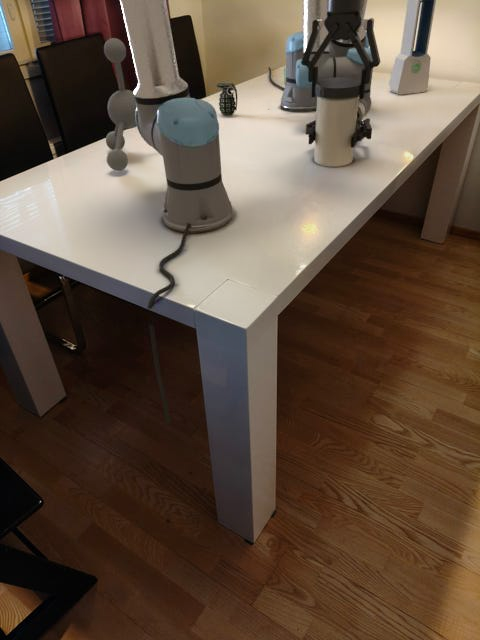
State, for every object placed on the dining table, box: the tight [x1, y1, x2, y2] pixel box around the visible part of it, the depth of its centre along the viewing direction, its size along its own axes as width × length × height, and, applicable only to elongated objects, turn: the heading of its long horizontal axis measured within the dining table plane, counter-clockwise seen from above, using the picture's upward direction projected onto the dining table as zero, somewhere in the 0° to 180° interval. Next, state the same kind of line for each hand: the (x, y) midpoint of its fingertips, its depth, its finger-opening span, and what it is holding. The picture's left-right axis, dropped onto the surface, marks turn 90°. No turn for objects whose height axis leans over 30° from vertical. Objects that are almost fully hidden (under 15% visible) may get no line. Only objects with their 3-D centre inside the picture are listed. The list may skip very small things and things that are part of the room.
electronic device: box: [388, 0, 437, 96], centre depth 174 cm, size 12×8×30 cm, turn 105°
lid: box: [315, 77, 361, 99], centre depth 120 cm, size 11×11×2 cm
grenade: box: [215, 82, 238, 117], centre depth 166 cm, size 7×6×10 cm
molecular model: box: [103, 37, 137, 172], centre depth 131 cm, size 24×22×30 cm
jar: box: [313, 96, 359, 168], centre depth 126 cm, size 10×10×18 cm
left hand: (337, 97), depth 122 cm, fingers closed on lid, 11 cm apart
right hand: (331, 140), depth 124 cm, fingers closed on jar, 10 cm apart
